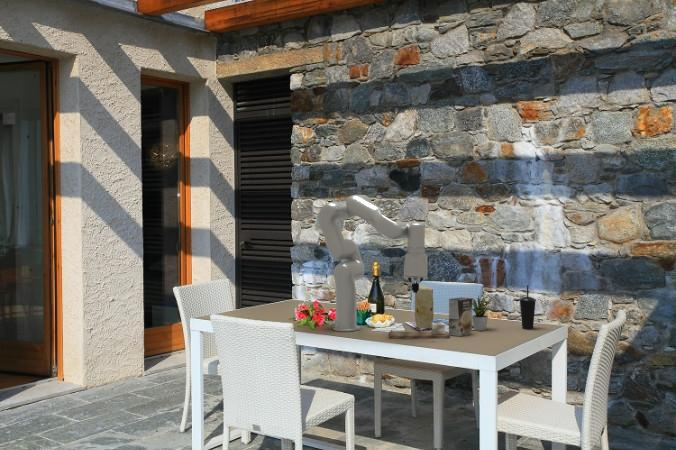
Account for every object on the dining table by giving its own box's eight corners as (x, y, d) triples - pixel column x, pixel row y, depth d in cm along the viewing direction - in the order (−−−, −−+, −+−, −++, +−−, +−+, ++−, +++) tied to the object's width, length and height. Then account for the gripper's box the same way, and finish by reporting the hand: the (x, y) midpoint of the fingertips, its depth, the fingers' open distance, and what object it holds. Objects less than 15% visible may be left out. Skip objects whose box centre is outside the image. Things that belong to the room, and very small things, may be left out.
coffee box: (459, 336, 323) (459, 300, 322) (448, 334, 327) (448, 298, 327) (472, 333, 329) (472, 298, 328) (461, 332, 334) (461, 296, 333)
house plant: (496, 333, 330) (496, 297, 329) (465, 332, 332) (465, 296, 332) (496, 327, 343) (496, 292, 343) (466, 326, 346) (466, 292, 346)
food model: (436, 328, 342) (436, 286, 341) (429, 331, 337) (428, 287, 336) (418, 326, 348) (418, 284, 347) (411, 328, 343) (410, 286, 342)
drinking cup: (517, 329, 339) (517, 286, 338) (521, 326, 346) (521, 284, 345) (534, 330, 335) (534, 286, 335) (537, 327, 342) (537, 285, 341)
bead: (433, 334, 321) (433, 325, 321) (431, 331, 327) (431, 322, 327) (444, 334, 321) (444, 324, 321) (442, 331, 327) (442, 322, 327)
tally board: (390, 338, 320) (389, 335, 319) (388, 334, 330) (388, 331, 329) (449, 338, 319) (449, 335, 319) (446, 333, 329) (446, 330, 329)
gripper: (399, 251, 319) (398, 293, 320) (433, 251, 319) (433, 293, 320) (398, 250, 327) (397, 291, 328) (431, 250, 327) (431, 291, 327)
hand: (415, 292), depth 324 cm, fingers closed
